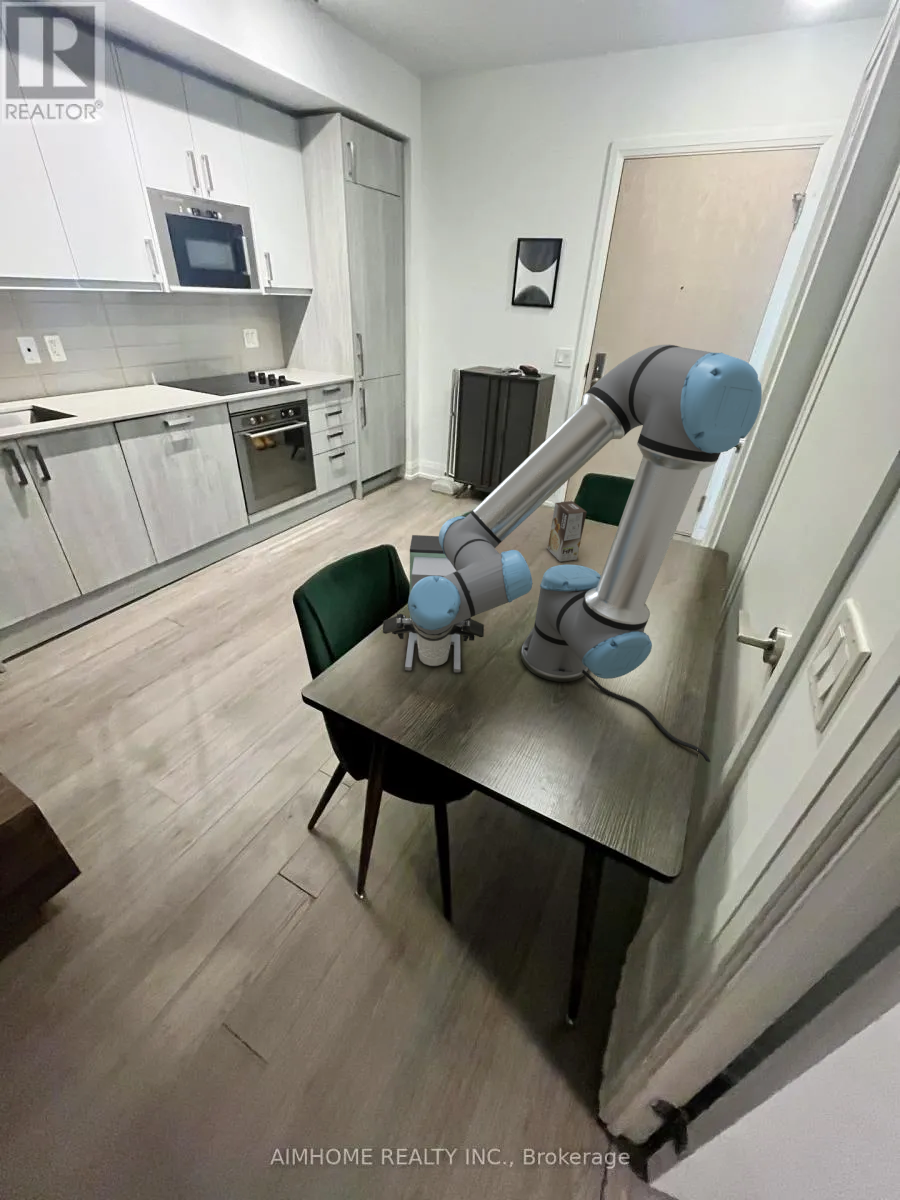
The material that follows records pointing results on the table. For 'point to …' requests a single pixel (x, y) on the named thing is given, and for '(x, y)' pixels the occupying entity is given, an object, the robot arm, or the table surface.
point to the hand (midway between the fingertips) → (433, 634)
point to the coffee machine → (426, 563)
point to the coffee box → (566, 530)
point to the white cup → (433, 650)
